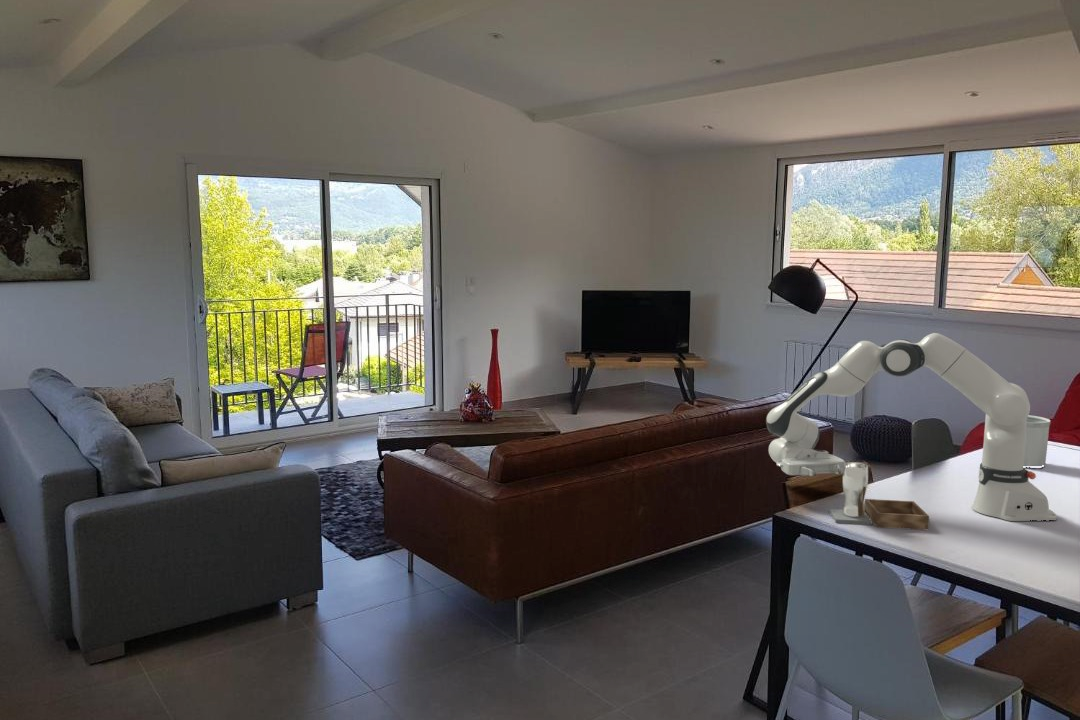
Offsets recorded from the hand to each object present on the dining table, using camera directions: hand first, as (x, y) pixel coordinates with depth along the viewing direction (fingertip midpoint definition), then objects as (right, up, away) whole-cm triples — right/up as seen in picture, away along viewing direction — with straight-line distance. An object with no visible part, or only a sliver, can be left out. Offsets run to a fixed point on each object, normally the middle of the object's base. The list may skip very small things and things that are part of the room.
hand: (827, 472), depth 258 cm
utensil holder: (+92, -4, +55) cm, 107 cm away
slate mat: (+3, -12, -10) cm, 16 cm away
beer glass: (+4, -11, -10) cm, 15 cm away
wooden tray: (+16, -12, -12) cm, 23 cm away
